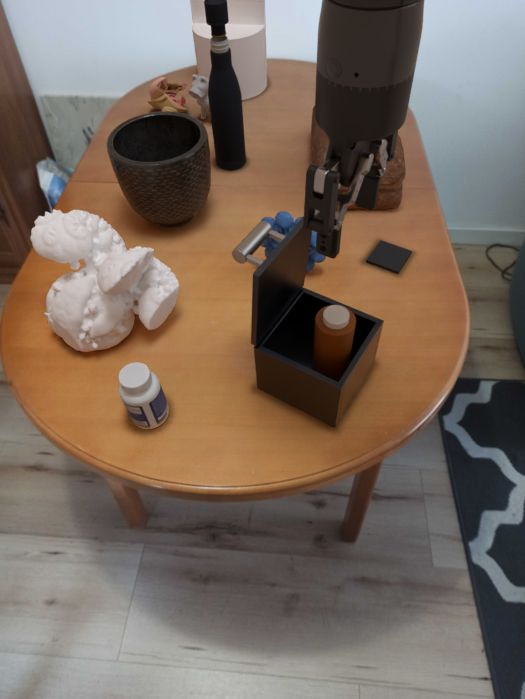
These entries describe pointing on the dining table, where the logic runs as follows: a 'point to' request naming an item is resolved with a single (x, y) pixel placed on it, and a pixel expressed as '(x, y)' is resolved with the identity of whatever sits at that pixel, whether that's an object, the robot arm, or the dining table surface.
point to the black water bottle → (224, 92)
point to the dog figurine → (200, 93)
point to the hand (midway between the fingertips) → (347, 229)
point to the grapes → (284, 226)
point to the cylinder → (236, 43)
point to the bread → (389, 181)
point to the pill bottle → (142, 396)
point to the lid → (274, 273)
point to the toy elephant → (166, 95)
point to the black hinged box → (297, 356)
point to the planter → (162, 166)
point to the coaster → (389, 256)
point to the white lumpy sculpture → (100, 281)
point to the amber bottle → (333, 341)
